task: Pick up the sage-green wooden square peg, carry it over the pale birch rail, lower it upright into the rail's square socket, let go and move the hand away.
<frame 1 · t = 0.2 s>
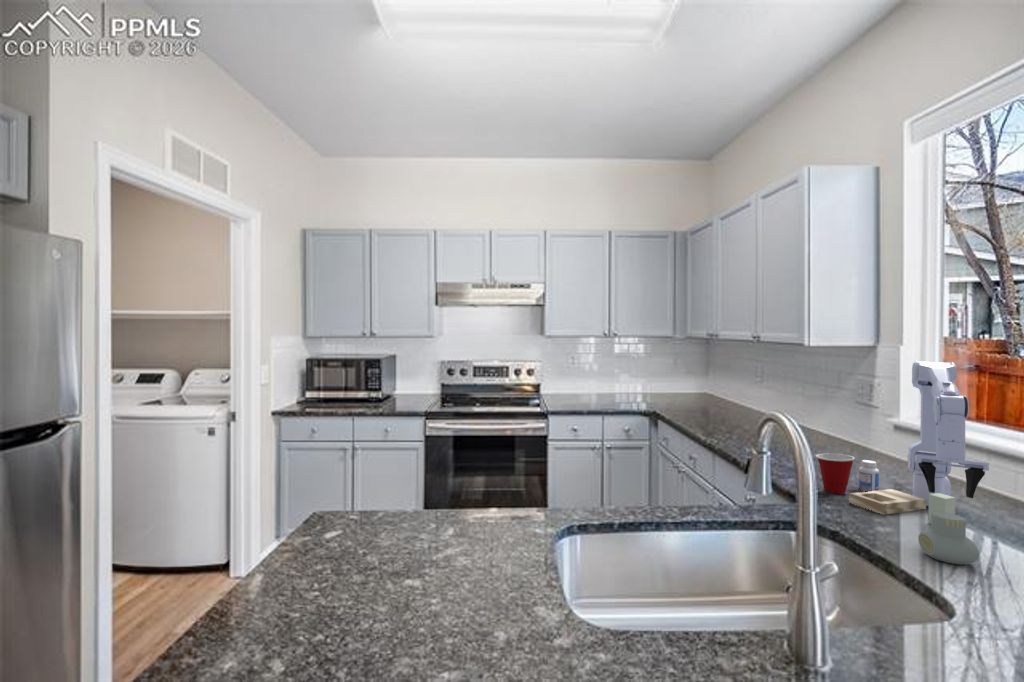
hand: (950, 494, 127), 10 cm above the countertop, tool pointing down, fingers open, 7 cm apart
square peg: (941, 525, 135), on the countertop
plastic cup: (833, 492, 163), on the countertop
pill bottle: (868, 491, 165), on the countertop
air freshener: (947, 560, 113), on the countertop
socket rail: (887, 506, 149), on the countertop
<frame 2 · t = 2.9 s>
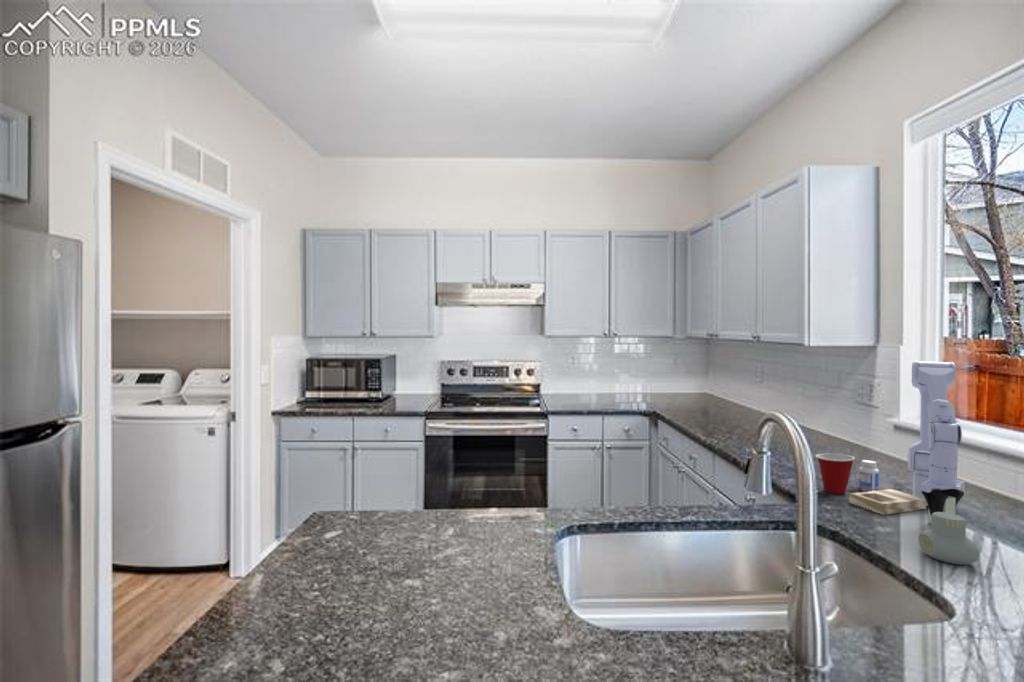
hand: (941, 516, 135), 2 cm above the countertop, tool pointing down, fingers closed on square peg, 4 cm apart
square peg: (941, 525, 135), on the countertop, touching gripper
everything else where it was.
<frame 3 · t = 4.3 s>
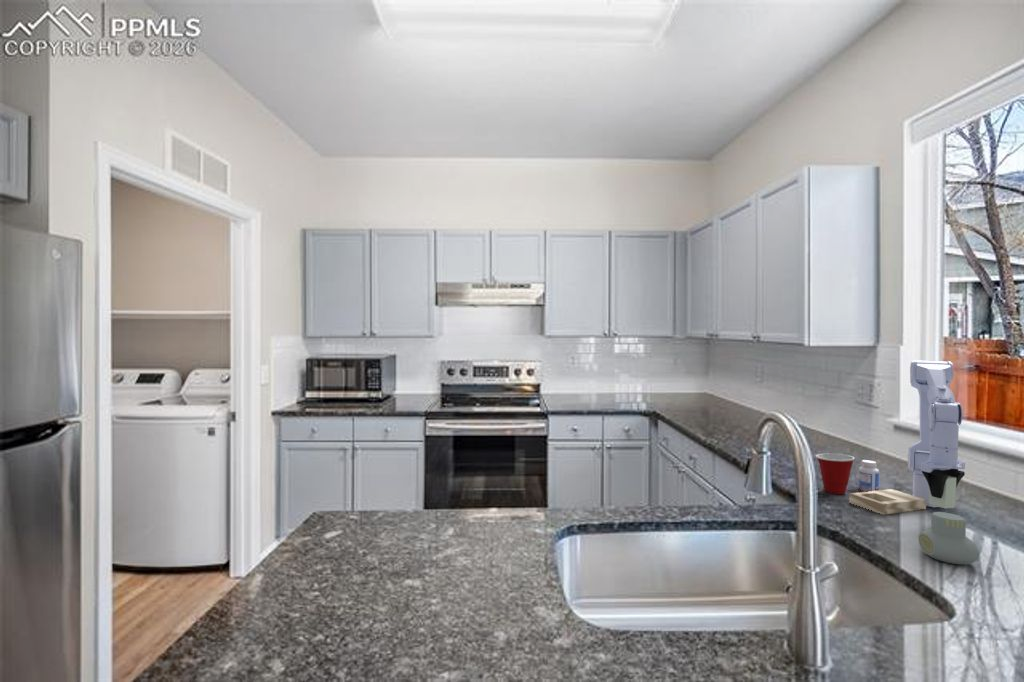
hand: (942, 496, 135), 8 cm above the countertop, tool pointing down, fingers closed on square peg, 4 cm apart
square peg: (941, 505, 135), point 5 cm above the countertop, touching gripper
everything else where it was.
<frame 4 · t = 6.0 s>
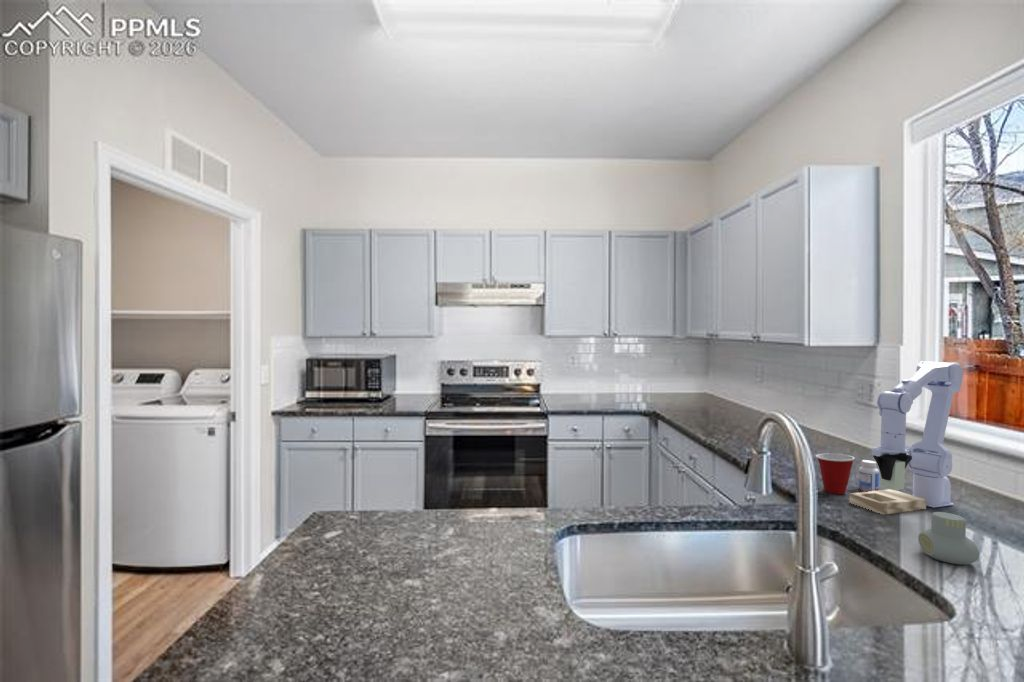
hand: (891, 479, 145), 9 cm above the countertop, tool pointing down, fingers closed on square peg, 4 cm apart
square peg: (892, 487, 145), point 7 cm above the countertop, touching gripper
everything else where it was.
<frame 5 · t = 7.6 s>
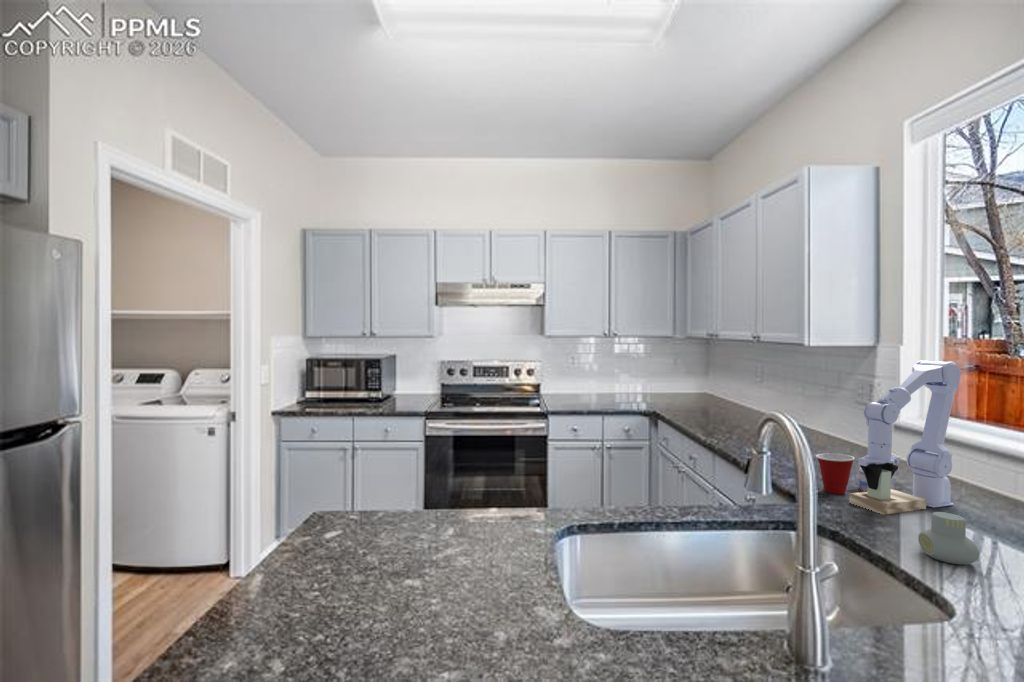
hand: (878, 488, 148), 6 cm above the countertop, tool pointing down, fingers closed on square peg, 4 cm apart
square peg: (878, 496, 148), point 3 cm above the countertop, touching gripper
everything else where it was.
when the fingers open (4 cm above the countertop, at t = 9.2 s): square peg drops 1 cm, resting in socket rail.
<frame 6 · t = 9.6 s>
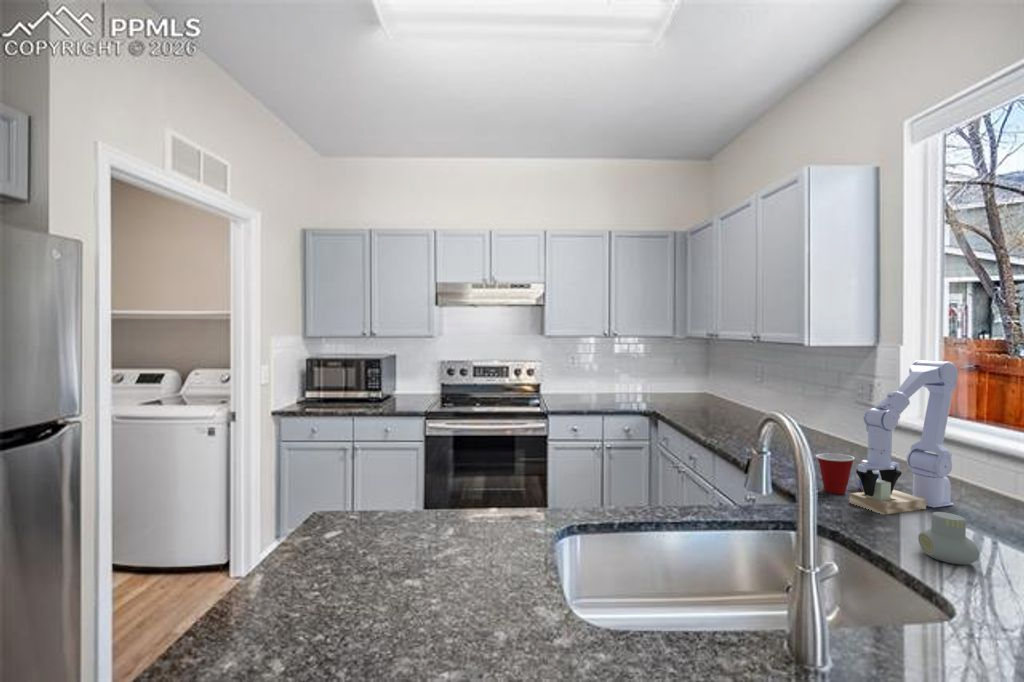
hand: (878, 494, 148), 4 cm above the countertop, tool pointing down, fingers open, 7 cm apart
square peg: (878, 507, 148), resting in socket rail
everything else where it was.
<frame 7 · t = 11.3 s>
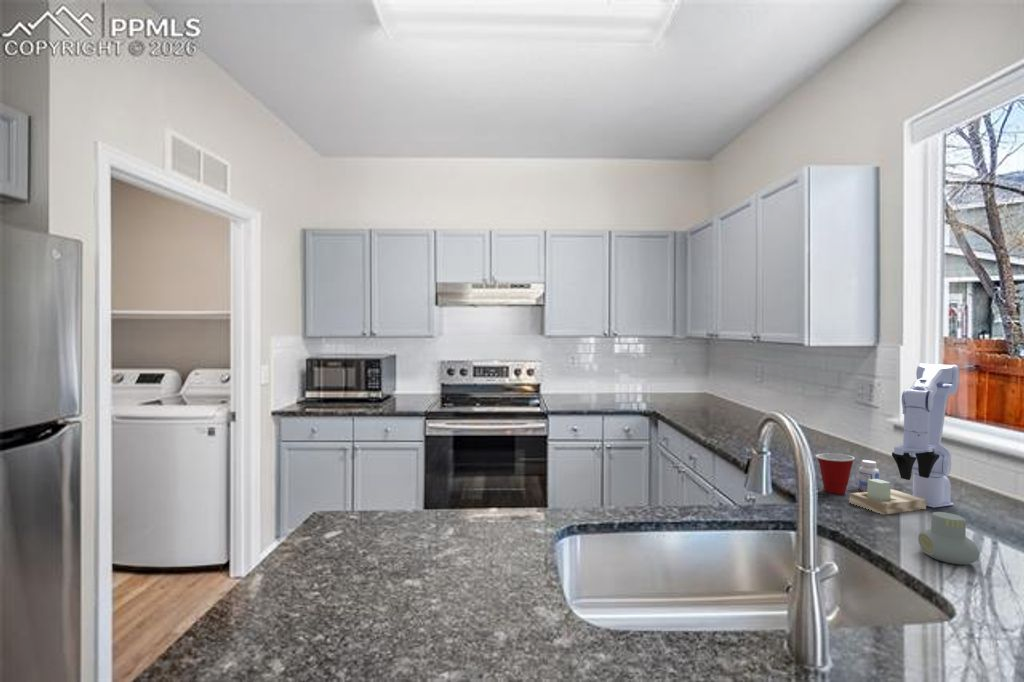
hand: (914, 478, 143), 10 cm above the countertop, tool pointing down, fingers open, 7 cm apart
nothing on the countertop moved.
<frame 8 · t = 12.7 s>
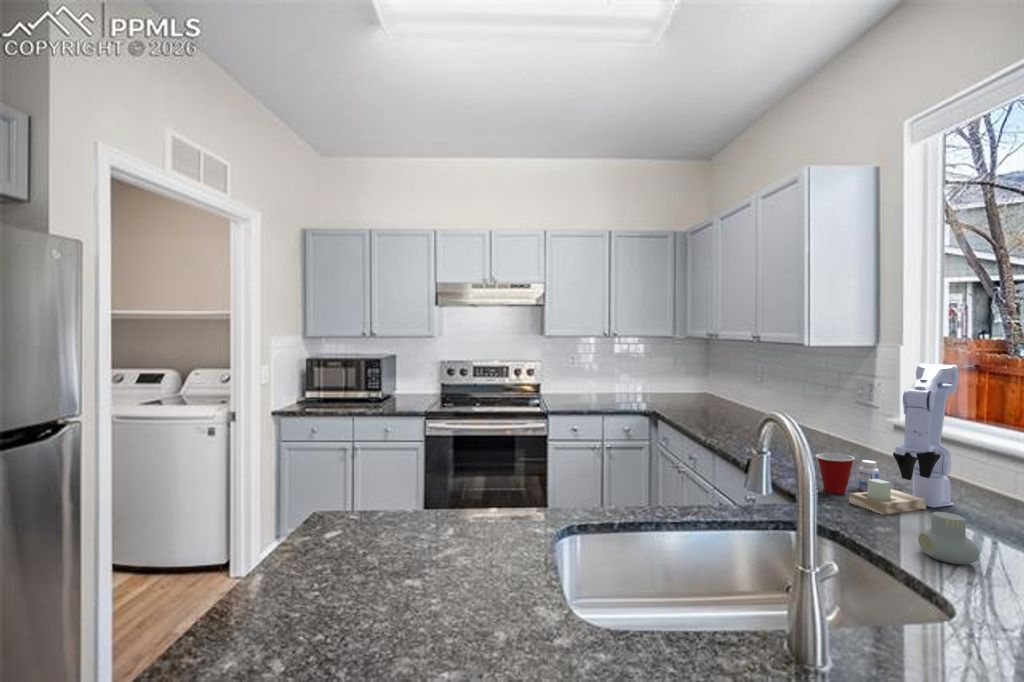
hand: (915, 478, 143), 10 cm above the countertop, tool pointing down, fingers open, 7 cm apart
nothing on the countertop moved.
at the end: square peg 0.2 cm from the target spot on the socket rail, point 0.0 cm above the socket rail's base; square peg tilted 0°; the gripper is holding nothing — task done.
